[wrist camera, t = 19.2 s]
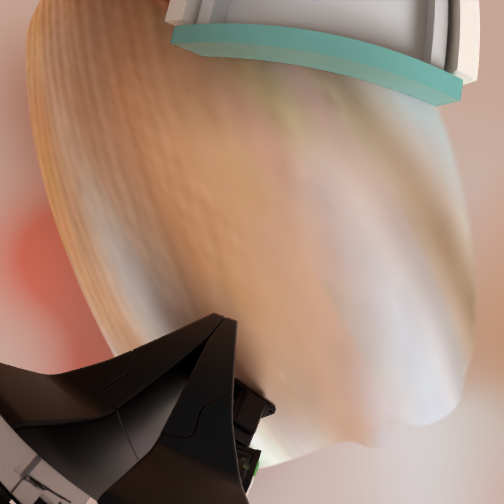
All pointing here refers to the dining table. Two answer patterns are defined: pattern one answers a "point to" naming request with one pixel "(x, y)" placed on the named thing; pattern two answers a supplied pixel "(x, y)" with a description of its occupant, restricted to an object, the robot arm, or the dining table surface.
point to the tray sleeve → (458, 34)
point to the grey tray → (335, 39)
